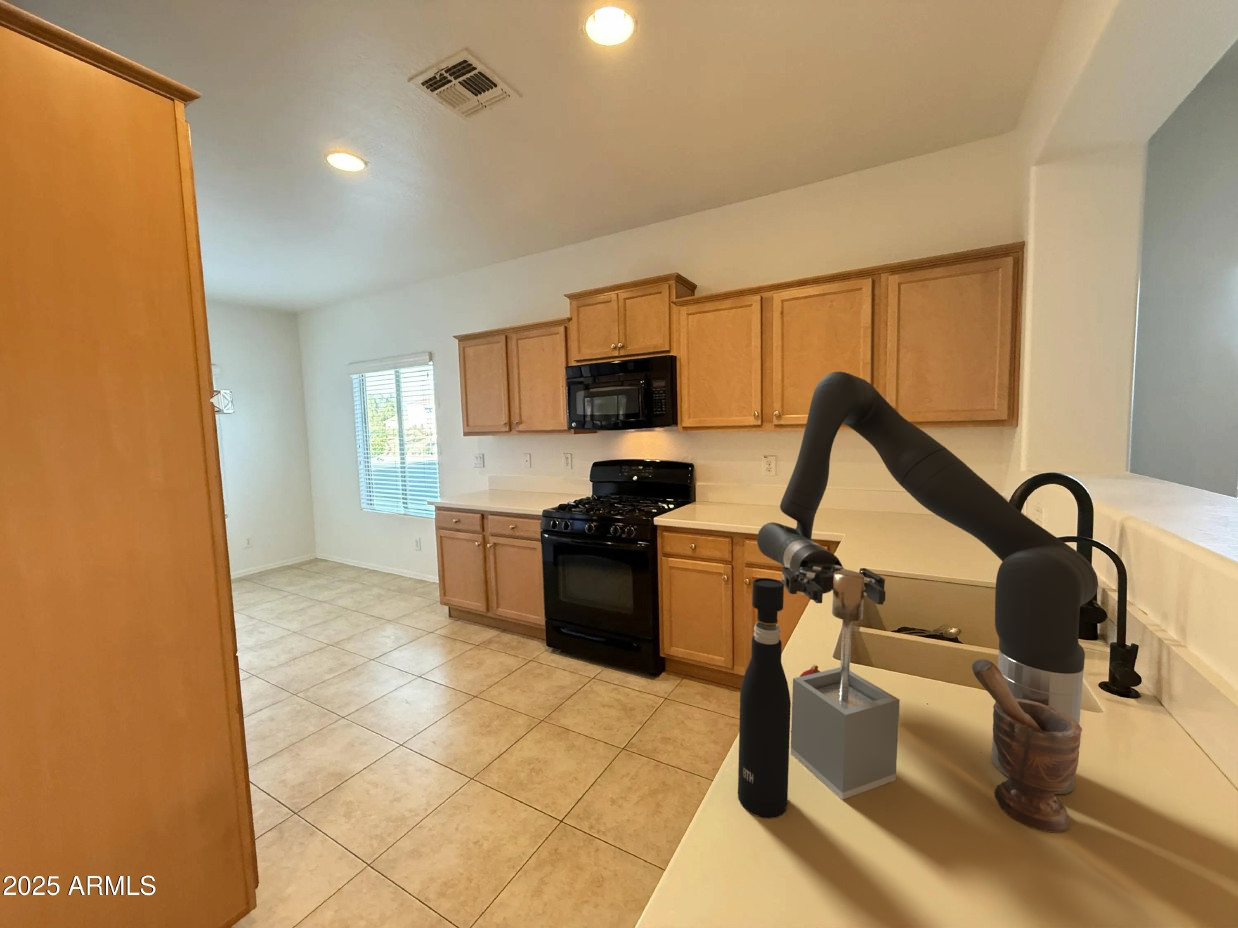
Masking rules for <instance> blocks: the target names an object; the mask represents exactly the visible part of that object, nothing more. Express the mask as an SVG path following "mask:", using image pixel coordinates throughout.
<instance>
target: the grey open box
mask: <svg viewBox="0 0 1238 928" xmlns="http://www.w3.org/2000/svg"><path fill="white" fill-rule="evenodd" d="M840 669H841V666H840V667H836V668H832V669H828V670H823V671H820V672H818V673H814V674H810V675H806V676H801V677H800V676H797V677H794V678H792V695H791V696H792V700H791V724H790V727H791V728H790V730H791V731H790V754H791V755H792V756H793V758H795V759H796V760H798V761H799V763H801V764H802V765H803V766H804V767H805V768H806V769H807V770H808V771H809V772H810V773H812V775H814V776H815V777H816V778H818V780H819V781H820V782H822V783H823V784H824V785H825V786H826V787H827V789H829V790H830V791H832V792H833V793H834V794H835V795H836V796H837V797H838V798H839V799H840V800H845V799H849V798H852V797H854V796H856V795H860V794H863V793H865V792H868V791H871V790H872V789H877V788H878V787H882V786H884V785H887V784H888V783H889V784H890V783H892V782H894V781H896V776H897V758H898V737H899V721H900V720H899V719H900V717H899V716H900V703H901V702H900V698H898V697H896V696H894V695H893V694H891V693H889V692H888V691H886V690H884V689H882V688H880V687H879V686H877V685H875V684H874V683H872V682H870V681H869V680H867V679H865V678H863V677H862V676H860V675H858V674H856V673H855V672H853V671H851V670H850V672H849V686H850V687H851V688H853V689H855V690H856V691H858V692H859V693H861V694H863V695H864V696H866V697H868V698H869V699H871V700H872V701H873V702H870V703H866V704H862V705H859V706H855V707H852V708H848V709H844V708H843V707H841V706H840V705H838V704H837V703H835V702H834V701H832V700H831V699H830V698H828V697H827V696H825V695H824V694H822V693H821V692H819V691H818V690H816V689H818V688H822V687H826V686H830V685H834V684H838V683H840Z"/></svg>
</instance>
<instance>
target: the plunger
mask: <svg viewBox="0 0 1238 928" xmlns="http://www.w3.org/2000/svg"><path fill="white" fill-rule="evenodd" d="M852 571H853V570H851V571H836V572H834V579H833V591H832V608H831V614H832V616H834V617H835V618H837V619H839V620H841V622H842V624H841V645H840V646H841V647H840V651H841V652H840V667H841V669H840V683H838V684H834V685H830V686H826V687H822V688H818V689H816V690H818V691H819V692H821V693H822V694H824V695H825V696H827V697H828V698H830V699H831V700H832V701H834V702H835V703H837V704H838V705H840V706H841V707H843V708H844V709H848V708H852V707H855V706H859V705H862V704H866V703H870V702H873V701H872V700H871V699H869V698H868V697H866V696H864V695H863V694H861V693H859V692H858V691H856V690H855V689H853V688H851V687H850V686H849V672H850V671H851V665H850V664H851V648H852V647H851V645H852V644H851V642H852V624H853V623H852V622H860V621H862V620H863V617H864V601H865V600H864V599H865V597H864V596H865V595H864V590H865V587H864V575H862V574H860V572H859V573H857V572H858V571H855V572H852Z"/></svg>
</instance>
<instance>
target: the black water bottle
mask: <svg viewBox="0 0 1238 928" xmlns="http://www.w3.org/2000/svg"><path fill="white" fill-rule="evenodd" d="M784 594H785V586H784V584H783V583H782V580H778V579H775V578H769V577H768V578H766V577H759V578H755V579H753V581H752V599H751V600H752V601H751V602H752V603H751V604H752V607H753V608H754V609H756V610H757V613H756V614H757V616H756V623H755V624H754V627H753V631H754V632H753V636H752V638H751V653H750V654H751V657H750V660H749V662H748V665H747V668H746V670H745V672H744V675H743V680H742V683H741V686H740V687H741V688H740V693H739V723H738V725H739V726H738V727H739V728H738V729H739V730H738V731H739V734H738V736H739V737H738V770H737V771H738V772H737V774H738V775H737V776H738V777H737V797H738V801H739V802H740V804H741V806H742V807H743V808H744V809H745V810H746V811H747V812H749V813H751V814H753V816H754V815H755V816H757V817H760V818H764V819H774V818H778V817H780V816H783V814H785V812H786V811H787V808H788V801H789V800H788V799H789V798H788V797H789V794H788V793H789V770H790V768H789V765H790V740H791V731H790V730H791V728H790V727H791V709H792V700H791V695H790V688H789V683H788V679H787V677H786V673H785V670H784V667H783V663H782V648H783V647H782V646H783V645H782V640H781V639H780V638H781V635H780V633H781V630H780V626H779V625H778V622H779V620H778V612H781V611H782V610H784V597H785V596H784Z"/></svg>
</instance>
